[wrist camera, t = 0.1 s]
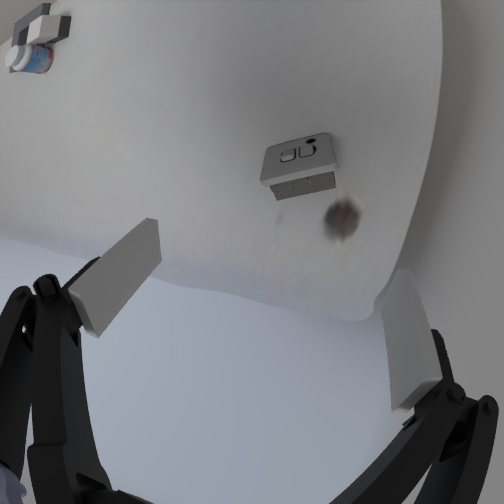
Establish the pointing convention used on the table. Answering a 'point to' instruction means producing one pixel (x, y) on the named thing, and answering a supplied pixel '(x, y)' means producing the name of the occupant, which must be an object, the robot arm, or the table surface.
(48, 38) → the plug
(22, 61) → the pill bottle
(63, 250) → the table surface
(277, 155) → the electrical switch
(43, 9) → the socket plate
